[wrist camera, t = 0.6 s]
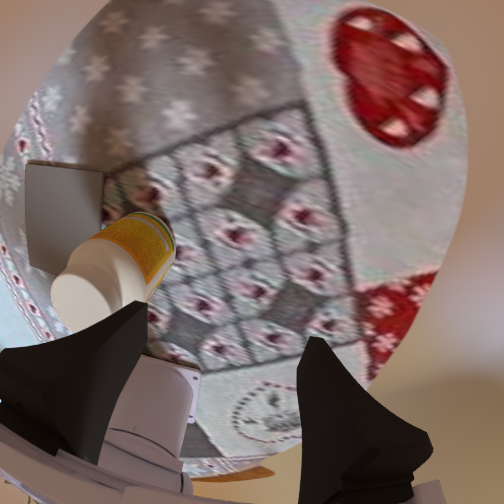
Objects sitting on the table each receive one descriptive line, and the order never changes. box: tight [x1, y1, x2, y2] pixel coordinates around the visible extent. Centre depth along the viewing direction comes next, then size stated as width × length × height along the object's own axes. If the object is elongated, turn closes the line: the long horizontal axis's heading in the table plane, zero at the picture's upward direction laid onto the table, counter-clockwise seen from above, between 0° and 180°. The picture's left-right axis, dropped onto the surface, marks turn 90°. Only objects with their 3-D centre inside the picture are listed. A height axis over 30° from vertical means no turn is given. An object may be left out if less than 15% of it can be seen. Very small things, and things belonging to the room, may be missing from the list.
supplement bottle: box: [50, 212, 176, 333], centre depth 17 cm, size 5×5×10 cm
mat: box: [25, 164, 105, 275], centre depth 21 cm, size 10×9×1 cm
